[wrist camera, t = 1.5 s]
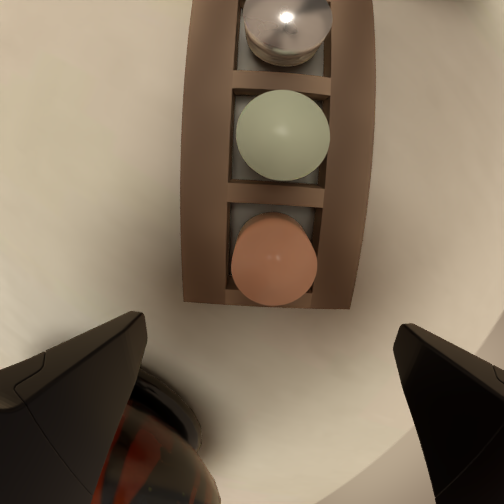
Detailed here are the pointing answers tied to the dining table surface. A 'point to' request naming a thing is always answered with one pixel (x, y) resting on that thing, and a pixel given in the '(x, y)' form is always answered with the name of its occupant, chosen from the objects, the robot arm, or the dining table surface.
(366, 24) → the button panel
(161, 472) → the amphora vase
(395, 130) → the dining table surface
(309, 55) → the grey button
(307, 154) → the sage button
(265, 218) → the terracotta button
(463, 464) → the robot arm
